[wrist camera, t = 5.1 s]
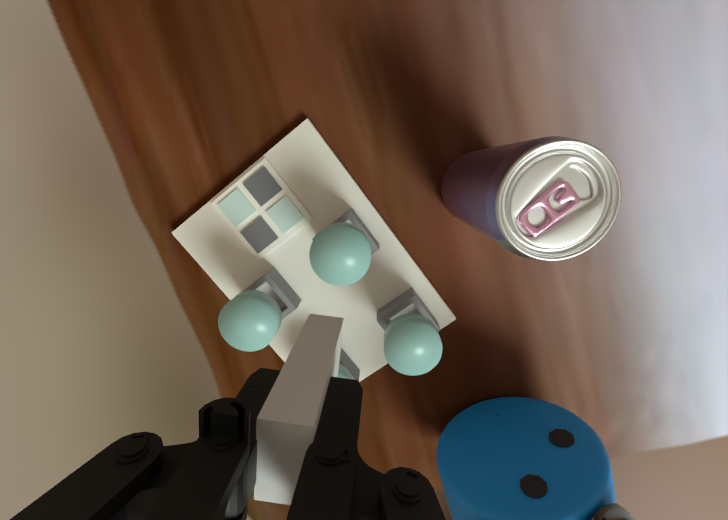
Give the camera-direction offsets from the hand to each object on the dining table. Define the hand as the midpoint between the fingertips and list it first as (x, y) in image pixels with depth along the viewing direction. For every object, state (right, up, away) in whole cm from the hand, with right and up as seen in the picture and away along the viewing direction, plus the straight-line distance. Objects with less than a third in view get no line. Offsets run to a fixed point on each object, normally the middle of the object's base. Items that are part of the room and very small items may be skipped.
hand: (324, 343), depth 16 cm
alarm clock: (+15, -13, +21) cm, 29 cm away
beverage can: (+11, +10, +15) cm, 22 cm away
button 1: (0, +5, +14) cm, 14 cm away
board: (-3, +2, +18) cm, 18 cm away
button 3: (+6, -2, +15) cm, 16 cm away
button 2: (-7, 0, +15) cm, 17 cm away
